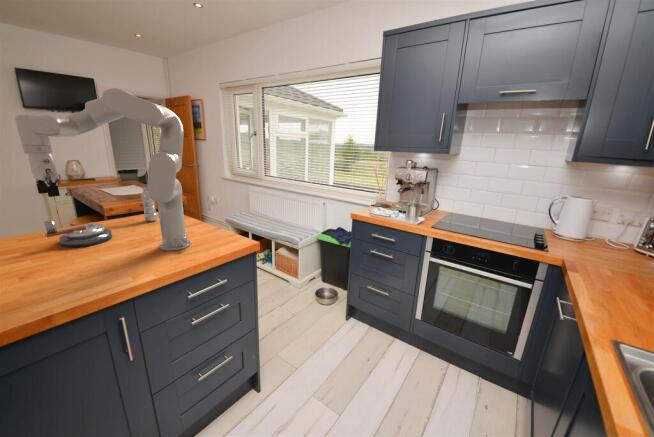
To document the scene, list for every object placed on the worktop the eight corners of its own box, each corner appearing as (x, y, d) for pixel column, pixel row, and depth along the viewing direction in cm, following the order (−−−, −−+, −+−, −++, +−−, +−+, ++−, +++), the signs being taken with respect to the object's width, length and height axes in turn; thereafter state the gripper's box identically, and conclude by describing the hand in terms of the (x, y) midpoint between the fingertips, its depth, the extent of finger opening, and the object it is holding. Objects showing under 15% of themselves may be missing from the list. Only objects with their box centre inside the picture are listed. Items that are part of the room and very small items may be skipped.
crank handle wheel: (111, 232, 128) (107, 214, 125) (55, 245, 111) (49, 225, 108) (96, 227, 134) (93, 210, 132) (41, 239, 117) (36, 219, 115)
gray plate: (119, 238, 129) (118, 232, 129) (71, 251, 114) (70, 244, 113) (100, 231, 138) (99, 225, 137) (53, 242, 122) (51, 236, 121)
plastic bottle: (153, 222, 154) (148, 188, 148) (142, 222, 154) (136, 187, 148) (160, 219, 160) (156, 186, 154) (149, 219, 160) (144, 185, 154)
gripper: (60, 151, 101) (71, 196, 106) (42, 148, 109) (52, 190, 114) (32, 151, 95) (45, 199, 100) (15, 148, 103) (27, 193, 108)
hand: (49, 194), depth 107 cm, fingers open, 9 cm apart
